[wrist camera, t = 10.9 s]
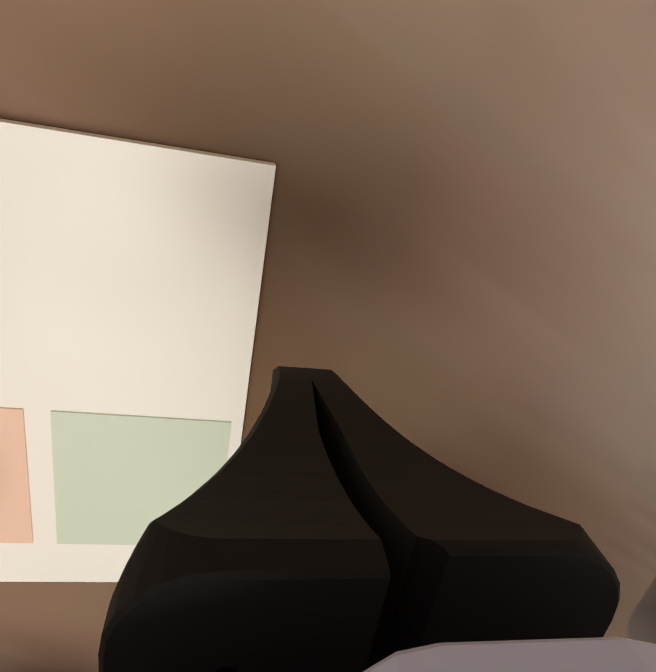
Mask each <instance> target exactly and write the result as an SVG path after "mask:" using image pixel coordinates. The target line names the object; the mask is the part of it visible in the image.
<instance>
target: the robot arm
mask: <svg viewBox="0 0 656 672" xmlns="http://www.w3.org/2000/svg"><path fill="white" fill-rule="evenodd" d="M619 599H620V583H619V580H618V578H617V575H616V573H615V571H614V569H613V567H612V566H611V565H610V563H609V562H608V561H607V560H606V558H605V557H604V556H603V554H602V553H601V552H600V550H599V549H598V548H597V546H596V545H595V544H594V542H593V541H592V540H591V539H590V537H589V536H588V535H587V533H586V532H585V531H584V529H583V528H582V527H581V526H580V525H579V524H576V523H574V522H571V521H568V520H565V519H563V518H560V517H557V516H554V515H552V514H549V513H546V512H543V511H541V510H538V509H535V508H532V507H530V506H527V505H525V504H522V503H520V502H517V501H515V500H513V499H511V498H508V497H506V496H504V495H502V494H499V493H497V492H495V491H493V490H491V489H489V488H487V487H485V486H483V485H481V484H479V483H477V482H475V481H473V480H471V479H469V478H467V477H465V476H464V475H462V474H460V473H458V472H456V471H455V470H453V469H451V468H449V467H448V466H446V465H444V464H443V463H441V462H439V461H438V460H436V459H435V458H433V457H432V456H430V455H429V454H427V453H426V452H424V451H423V450H421V449H420V448H418V447H417V446H415V445H414V444H413V443H411V442H410V441H409V440H407V439H406V438H405V437H403V436H402V435H401V434H400V433H398V432H397V431H396V430H395V429H394V428H392V427H391V426H390V425H389V424H387V423H386V422H385V421H384V420H383V419H382V418H381V417H379V416H378V415H377V414H376V413H375V412H374V411H373V410H372V409H371V408H370V407H369V406H368V405H366V404H365V403H364V402H363V401H362V400H361V399H360V398H359V397H358V396H357V395H356V394H355V393H354V392H353V391H352V390H351V389H350V388H349V387H348V386H347V385H346V384H345V383H344V382H343V381H342V380H341V379H340V378H339V377H338V376H337V375H336V374H335V373H334V372H333V371H332V370H326V369H311V368H297V367H282V366H278V367H277V368H276V369H274V370H273V376H272V384H271V392H270V394H269V397H268V399H267V401H266V404H265V406H264V408H263V410H262V412H261V414H260V416H259V417H258V419H257V421H256V423H255V424H254V426H253V428H252V429H251V431H250V433H249V434H248V435H247V437H246V438H245V440H244V441H243V443H242V444H241V445H240V446H239V448H238V449H237V450H236V452H235V453H234V454H233V455H232V456H231V457H230V458H229V460H228V461H227V462H226V463H225V464H224V465H223V466H222V467H221V468H220V469H219V471H218V472H217V473H216V474H215V475H213V476H212V477H211V478H210V479H209V480H208V481H207V482H206V483H204V484H203V485H202V486H201V487H200V488H199V489H197V490H196V491H195V492H194V493H193V494H192V495H190V496H189V497H188V498H187V499H185V500H184V501H183V502H181V503H180V504H178V505H177V506H175V507H174V508H172V509H171V510H169V511H168V512H166V513H165V514H163V515H162V516H160V517H158V518H156V519H155V520H153V521H152V522H150V523H149V525H148V526H147V528H146V530H145V531H144V533H143V535H142V536H141V538H140V540H139V542H138V543H137V545H136V547H135V548H134V550H133V552H132V554H131V556H130V558H129V560H128V562H127V564H126V566H125V568H124V570H123V572H122V574H121V576H120V579H119V581H118V583H117V586H116V588H115V591H114V593H113V596H112V599H111V601H110V604H109V608H108V612H107V616H106V620H105V624H104V628H103V632H102V636H101V642H100V648H99V654H98V659H99V672H656V644H653V643H648V642H643V641H638V640H632V639H628V638H623V637H603V636H604V634H605V632H606V630H607V629H608V627H609V625H610V623H611V621H612V619H613V616H614V614H615V611H616V608H617V606H618V603H619Z"/></svg>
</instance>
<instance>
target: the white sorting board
mask: <svg viewBox="0 0 656 672" xmlns="http://www.w3.org/2000/svg"><path fill="white" fill-rule="evenodd" d="M275 169H276V165H275V163H273V162H267V161H261V160H254V159H248V158H242V157H236V156H230V155H223V154H217V153H211V152H205V151H199V150H193V149H186V148H180V147H174V146H168V145H162V144H155V143H149V142H143V141H137V140H131V139H125V138H118V137H112V136H106V135H100V134H94V133H87V132H81V131H75V130H69V129H63V128H56V127H50V126H44V125H38V124H32V123H26V122H19V121H13V120H7V119H1V118H0V582H118V581H119V579H120V576H121V574H122V572H123V570H124V568H125V566H126V564H127V562H128V560H129V558H130V556H131V554H132V552H133V550H134V548H135V547H136V545H137V543H138V542H139V540H140V538H141V536H142V535H143V533H144V531H145V530H146V528H147V526H148V525H149V523H150V522H152V521H153V520H155V519H156V518H158V517H160V516H162V515H163V514H165V513H166V512H168V511H169V510H171V509H172V508H174V507H175V506H177V505H178V504H180V503H181V502H183V501H184V500H185V499H187V498H188V497H189V496H190V495H192V494H193V493H194V492H195V491H196V490H197V489H199V488H200V487H201V486H202V485H203V484H204V483H206V482H207V481H208V480H209V479H210V478H211V477H212V476H213V475H215V474H216V473H217V472H218V471H219V469H220V468H221V467H222V466H223V465H224V464H225V463H226V462H227V461H228V460H229V458H230V457H231V456H232V455H233V454H234V453H235V452H236V450H237V449H238V448H239V446H240V445H241V437H242V429H243V421H244V413H245V405H246V398H247V390H248V382H249V374H250V366H251V358H252V350H253V342H254V335H255V327H256V319H257V311H258V303H259V295H260V287H261V279H262V272H263V264H264V256H265V248H266V240H267V232H268V224H269V216H270V209H271V201H272V193H273V185H274V177H275Z"/></svg>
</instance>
